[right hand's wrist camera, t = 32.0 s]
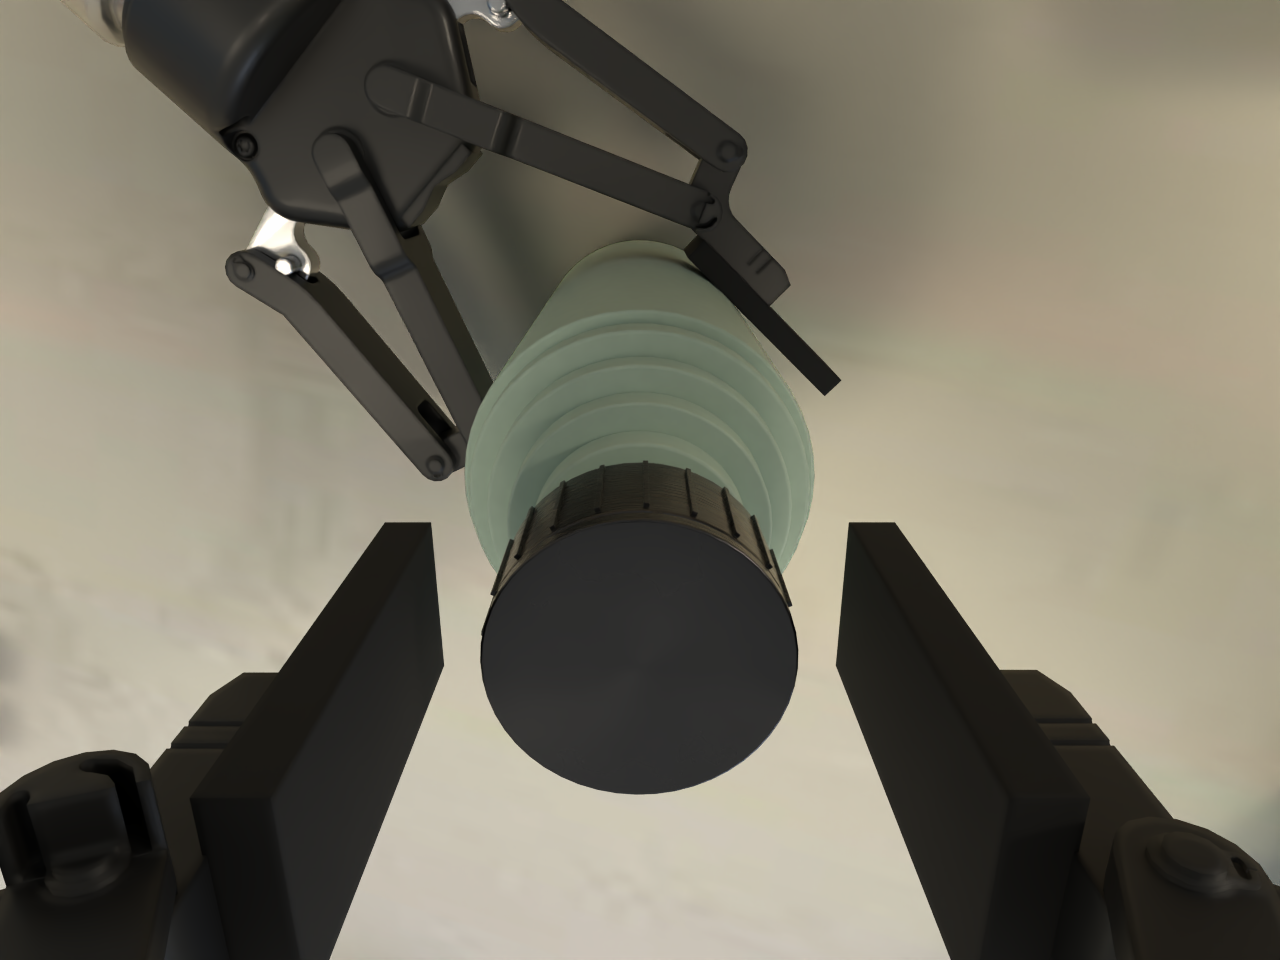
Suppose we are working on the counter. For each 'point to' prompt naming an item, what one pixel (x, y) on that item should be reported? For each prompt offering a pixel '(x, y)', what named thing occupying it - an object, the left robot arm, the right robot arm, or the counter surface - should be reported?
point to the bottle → (639, 398)
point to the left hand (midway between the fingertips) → (734, 462)
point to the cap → (639, 631)
